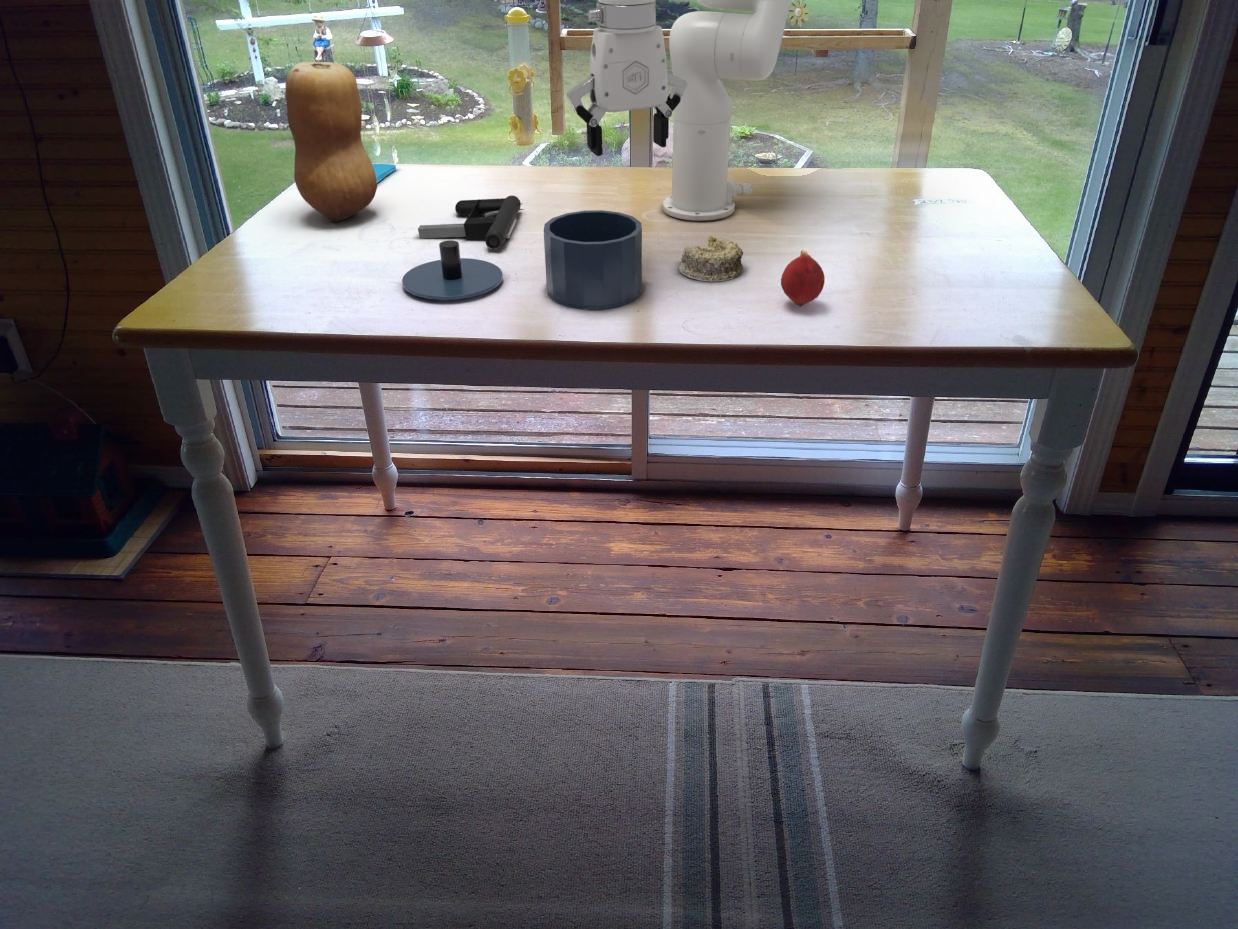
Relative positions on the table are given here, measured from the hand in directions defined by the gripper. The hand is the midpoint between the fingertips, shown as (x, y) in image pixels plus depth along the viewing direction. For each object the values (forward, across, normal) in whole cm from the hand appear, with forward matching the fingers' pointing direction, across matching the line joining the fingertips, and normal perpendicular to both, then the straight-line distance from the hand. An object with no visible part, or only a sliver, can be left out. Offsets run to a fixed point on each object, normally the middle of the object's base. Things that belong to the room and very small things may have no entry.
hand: (628, 148), depth 132 cm
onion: (+18, +17, -22) cm, 33 cm away
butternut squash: (+18, -37, +41) cm, 59 cm away
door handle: (+18, -18, +26) cm, 36 cm away
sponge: (+18, -29, +62) cm, 71 cm away
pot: (+18, -8, -6) cm, 20 cm away
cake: (+18, +11, -5) cm, 22 cm away
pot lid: (+17, -26, +5) cm, 32 cm away
